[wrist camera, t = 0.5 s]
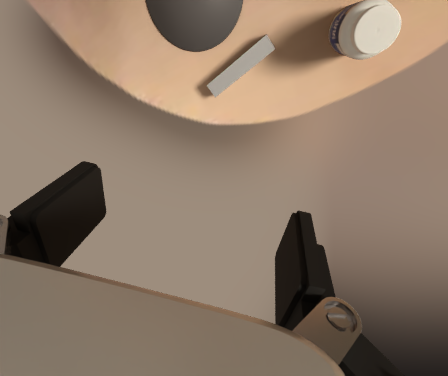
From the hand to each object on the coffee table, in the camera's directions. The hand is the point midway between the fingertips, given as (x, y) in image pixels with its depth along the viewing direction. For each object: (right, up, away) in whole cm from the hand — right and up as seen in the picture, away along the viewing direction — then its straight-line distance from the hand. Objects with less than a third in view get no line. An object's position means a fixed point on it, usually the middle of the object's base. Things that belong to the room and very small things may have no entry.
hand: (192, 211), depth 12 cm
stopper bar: (+4, +18, +24) cm, 30 cm away
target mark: (-2, +26, +20) cm, 33 cm away
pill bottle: (+17, +21, +20) cm, 34 cm away
